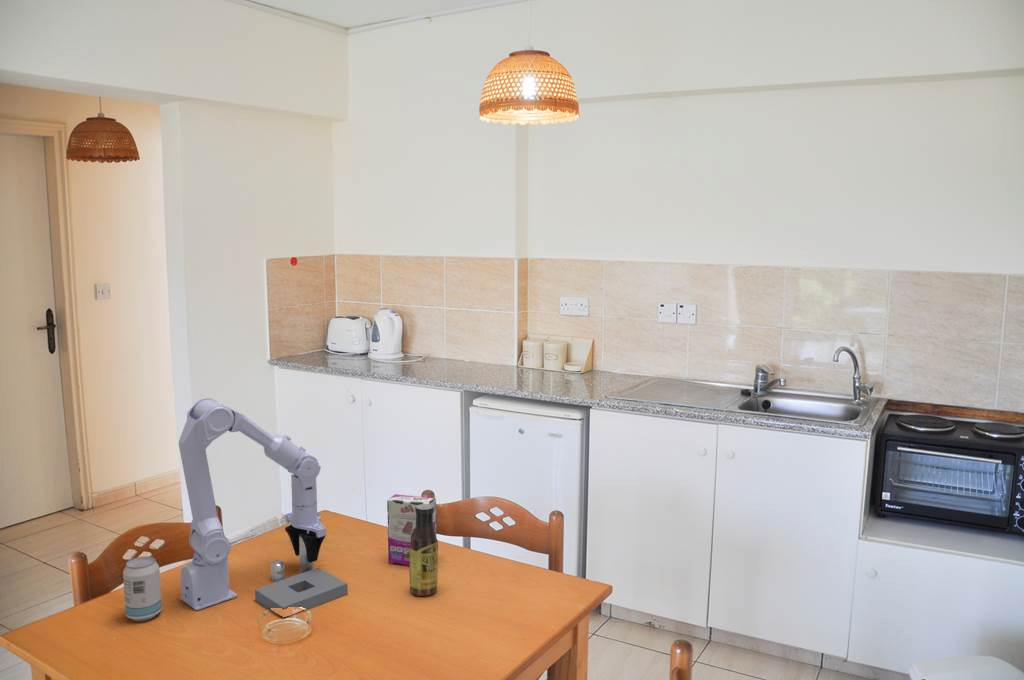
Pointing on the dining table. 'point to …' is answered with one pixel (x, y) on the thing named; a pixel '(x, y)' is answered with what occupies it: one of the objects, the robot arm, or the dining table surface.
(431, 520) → the sauce bottle
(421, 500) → the candy bar box
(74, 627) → the dining table surface
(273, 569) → the short pin
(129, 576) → the beverage can
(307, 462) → the robot arm
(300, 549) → the tall pin
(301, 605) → the hole board
